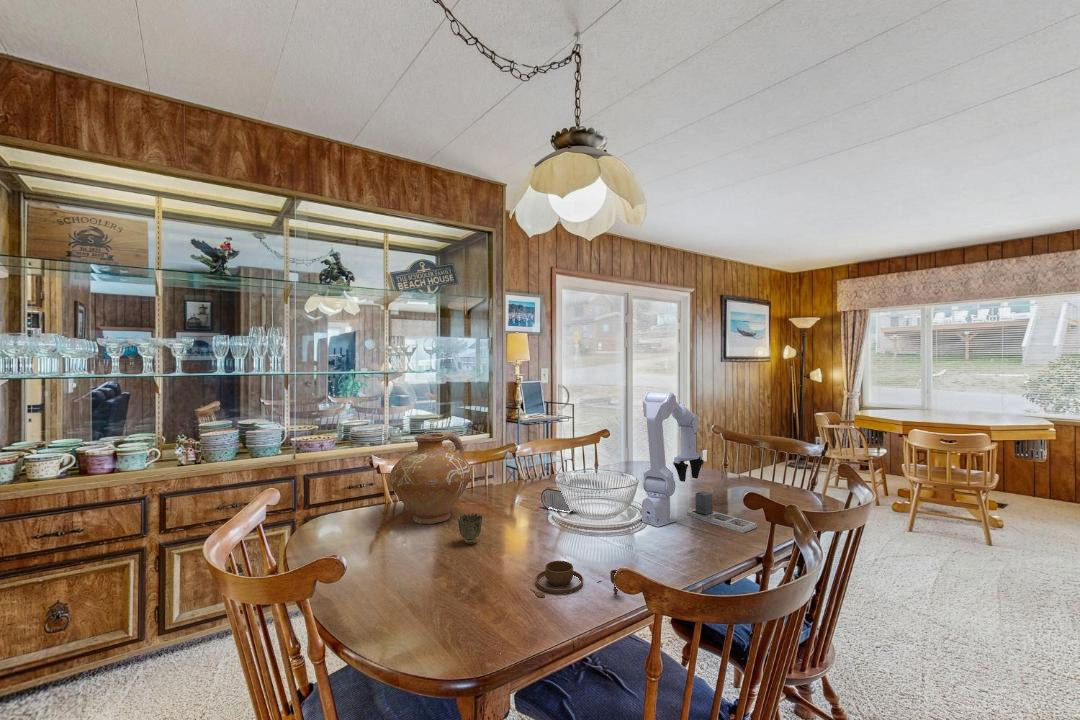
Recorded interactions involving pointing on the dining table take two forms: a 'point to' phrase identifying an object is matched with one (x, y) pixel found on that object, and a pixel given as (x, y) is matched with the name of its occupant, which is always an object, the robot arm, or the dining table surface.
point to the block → (704, 503)
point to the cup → (470, 527)
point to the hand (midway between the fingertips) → (688, 479)
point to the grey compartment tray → (727, 524)
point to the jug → (431, 477)
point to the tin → (554, 499)
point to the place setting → (562, 578)
